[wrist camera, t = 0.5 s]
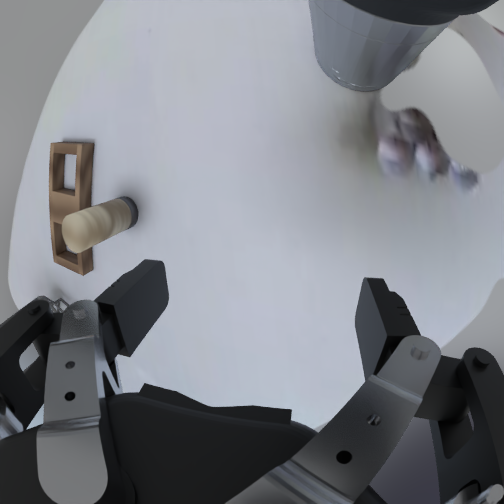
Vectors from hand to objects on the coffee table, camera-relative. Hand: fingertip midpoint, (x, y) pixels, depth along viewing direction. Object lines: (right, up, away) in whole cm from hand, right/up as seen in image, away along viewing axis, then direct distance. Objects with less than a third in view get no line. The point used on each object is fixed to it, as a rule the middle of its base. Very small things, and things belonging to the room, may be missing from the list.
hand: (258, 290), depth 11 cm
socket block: (-28, +9, +27) cm, 40 cm away
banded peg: (-17, +7, +24) cm, 31 cm away
